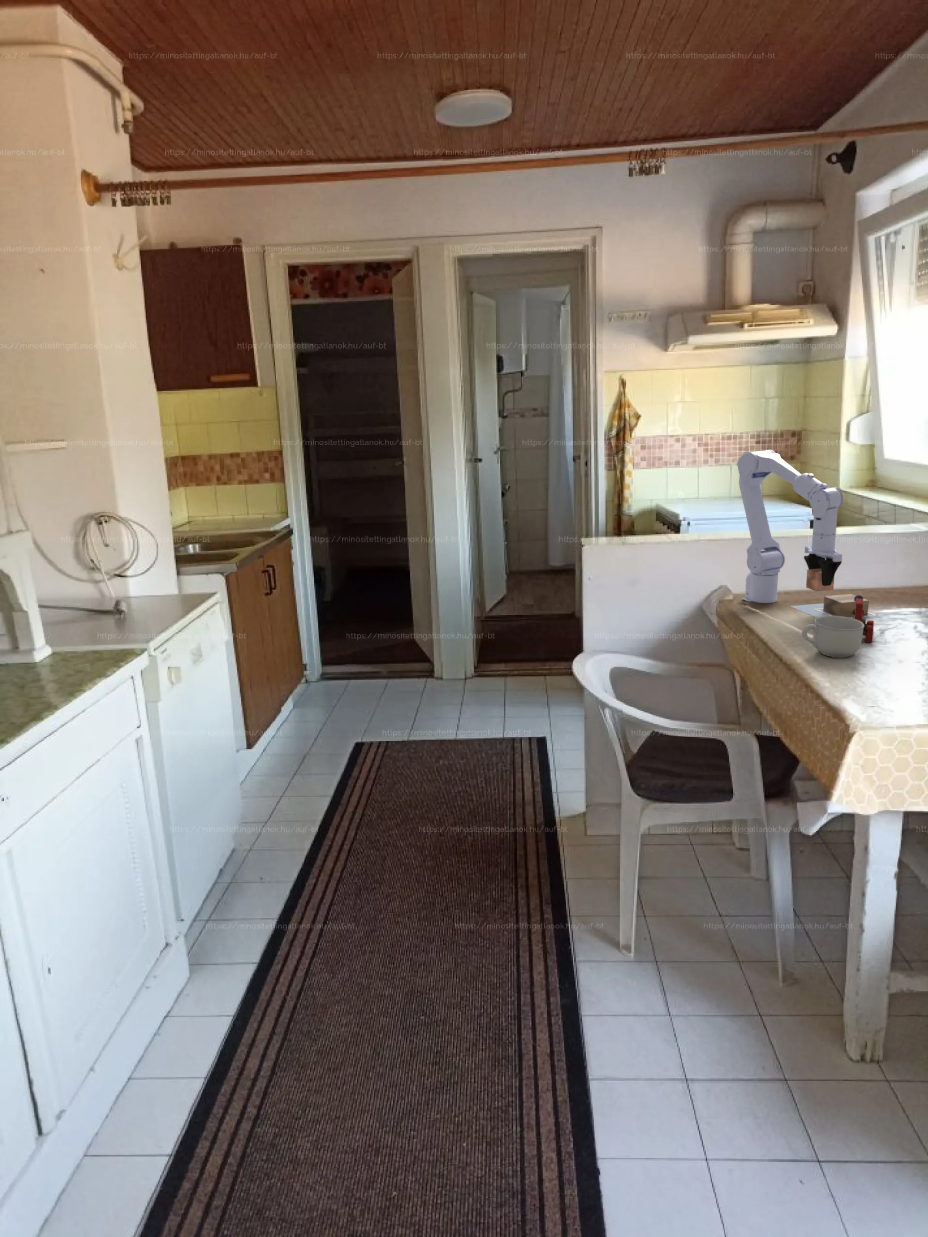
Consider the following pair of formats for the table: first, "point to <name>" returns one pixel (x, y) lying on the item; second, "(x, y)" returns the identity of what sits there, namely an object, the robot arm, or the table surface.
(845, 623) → the teacup
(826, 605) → the walnut slab
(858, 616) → the toy fire truck
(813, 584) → the terracotta cube
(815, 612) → the board
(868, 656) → the table surface
